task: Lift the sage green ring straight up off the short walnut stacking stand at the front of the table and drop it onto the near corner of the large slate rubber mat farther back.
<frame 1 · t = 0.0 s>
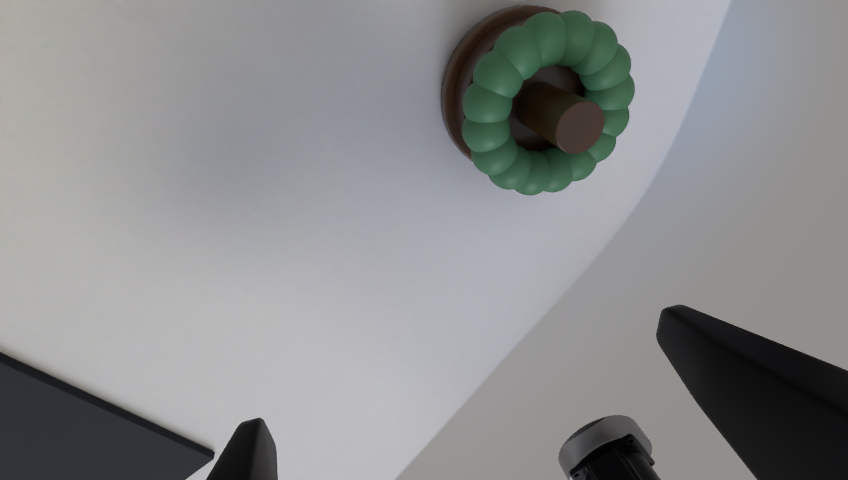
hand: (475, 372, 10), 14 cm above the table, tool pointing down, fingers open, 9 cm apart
ring: (537, 105, 19), point 2 cm above the table, touching stand
stand: (515, 93, 21), on the table
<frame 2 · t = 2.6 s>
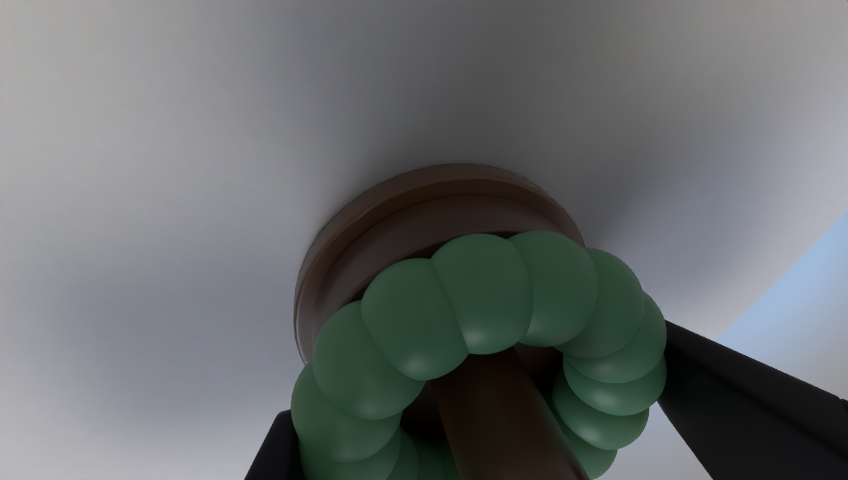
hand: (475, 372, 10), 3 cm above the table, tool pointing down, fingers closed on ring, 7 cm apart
ring: (470, 364, 10), point 2 cm above the table, touching gripper, stand
stand: (442, 298, 12), on the table
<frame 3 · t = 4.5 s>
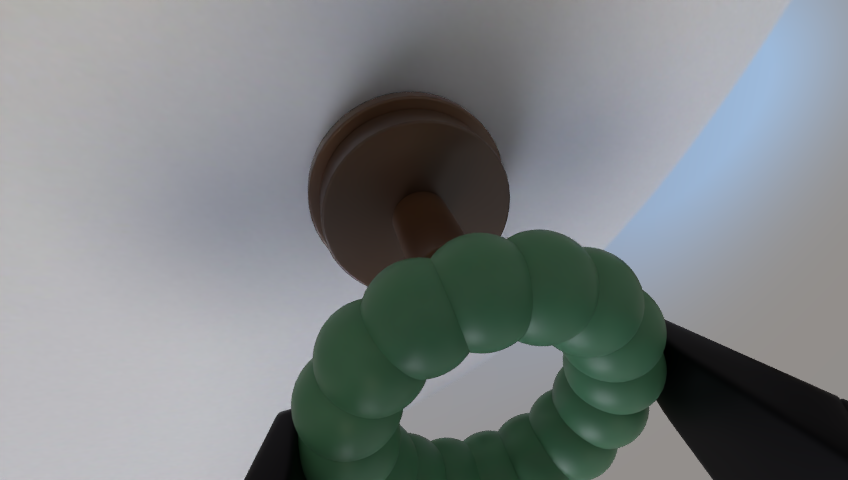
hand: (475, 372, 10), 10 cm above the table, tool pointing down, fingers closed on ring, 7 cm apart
ring: (470, 363, 10), point 9 cm above the table, touching gripper
stand: (406, 189, 18), on the table
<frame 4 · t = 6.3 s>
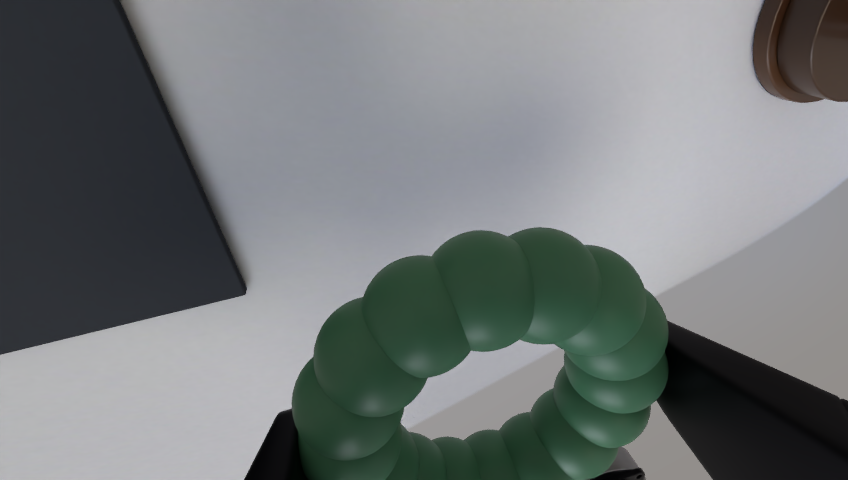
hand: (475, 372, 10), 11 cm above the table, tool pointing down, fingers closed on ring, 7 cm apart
ring: (471, 362, 10), point 11 cm above the table, touching gripper
stand: (829, 12, 20), on the table
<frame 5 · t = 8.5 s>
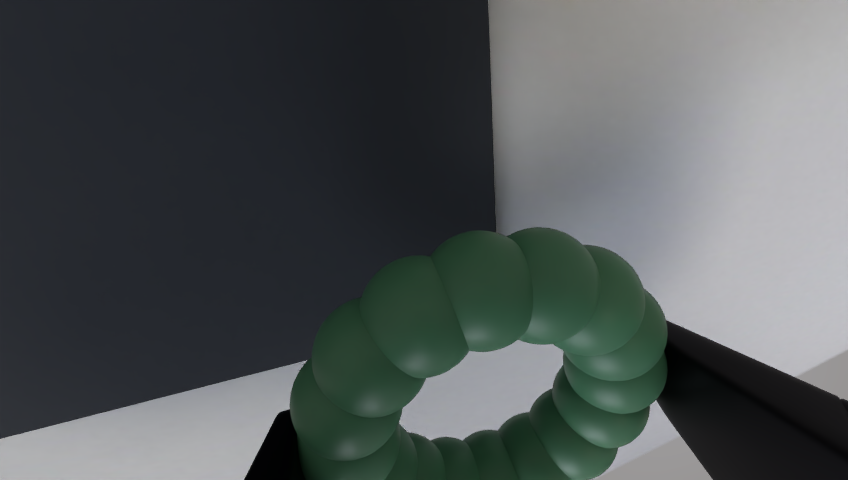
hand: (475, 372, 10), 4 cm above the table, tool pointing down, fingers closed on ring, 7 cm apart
ring: (470, 362, 10), point 4 cm above the table, touching gripper
when the fingers open (1 cm above the table, at t = 10.1 s): ring stays where it is, resting on mat.
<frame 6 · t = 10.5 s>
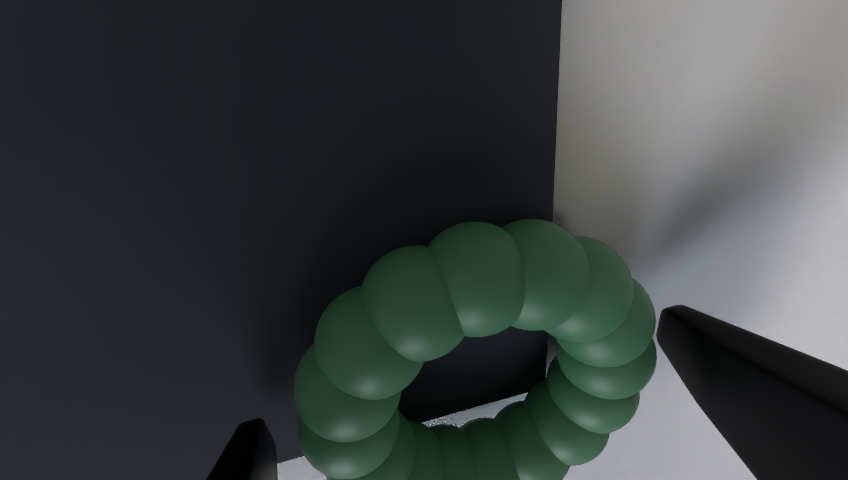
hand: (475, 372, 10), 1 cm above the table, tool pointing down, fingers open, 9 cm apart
ring: (467, 351, 10), resting on mat
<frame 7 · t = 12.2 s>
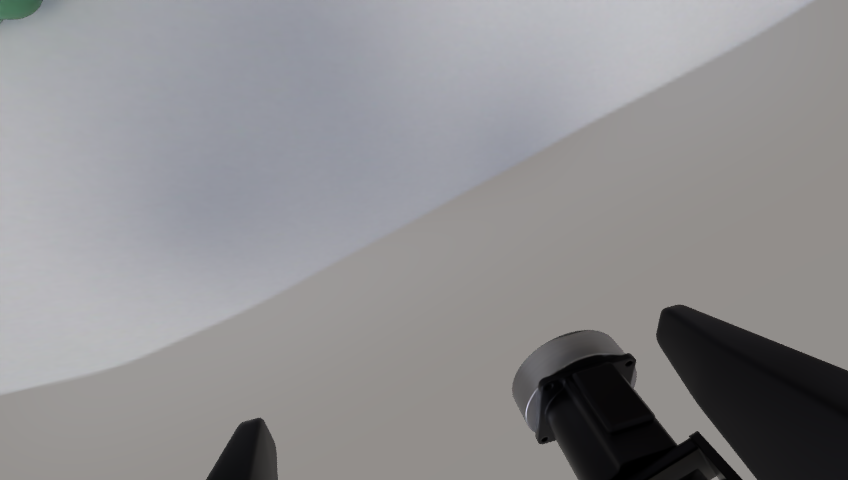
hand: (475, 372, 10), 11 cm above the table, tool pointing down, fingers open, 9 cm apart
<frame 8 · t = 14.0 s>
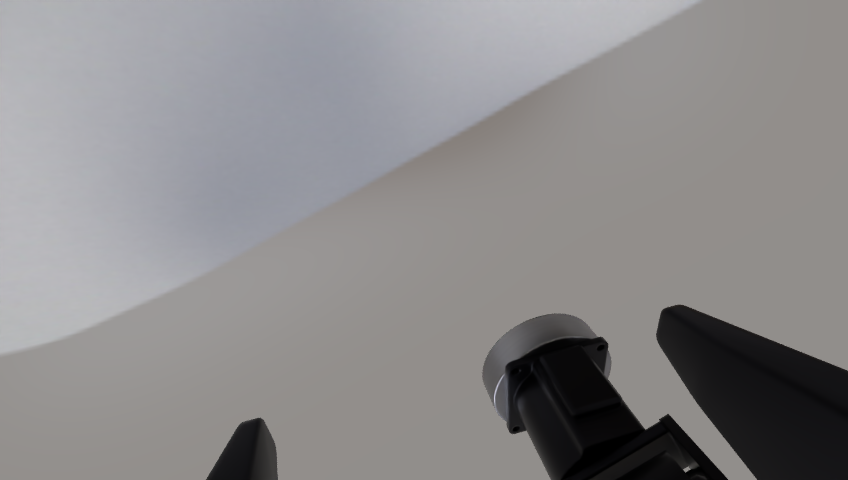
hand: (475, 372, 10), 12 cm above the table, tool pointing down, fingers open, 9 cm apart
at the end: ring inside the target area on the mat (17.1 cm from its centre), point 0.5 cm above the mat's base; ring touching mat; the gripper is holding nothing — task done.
